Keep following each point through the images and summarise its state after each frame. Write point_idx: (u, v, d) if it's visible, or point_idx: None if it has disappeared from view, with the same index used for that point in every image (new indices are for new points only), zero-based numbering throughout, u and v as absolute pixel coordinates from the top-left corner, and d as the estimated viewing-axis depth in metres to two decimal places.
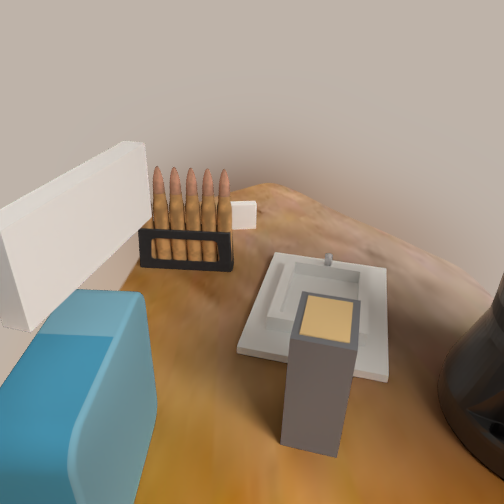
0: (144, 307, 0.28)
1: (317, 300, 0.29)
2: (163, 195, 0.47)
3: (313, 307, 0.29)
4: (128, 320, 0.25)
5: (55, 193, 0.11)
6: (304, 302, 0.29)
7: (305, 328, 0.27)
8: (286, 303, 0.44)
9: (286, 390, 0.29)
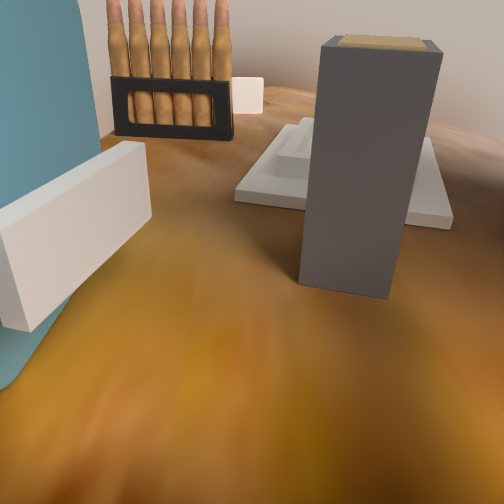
0: (79, 20, 0.18)
1: (361, 35, 0.18)
2: (142, 27, 0.36)
3: (356, 37, 0.18)
4: None
5: (55, 193, 0.11)
6: (340, 38, 0.18)
7: (347, 41, 0.16)
8: None
9: (311, 169, 0.17)
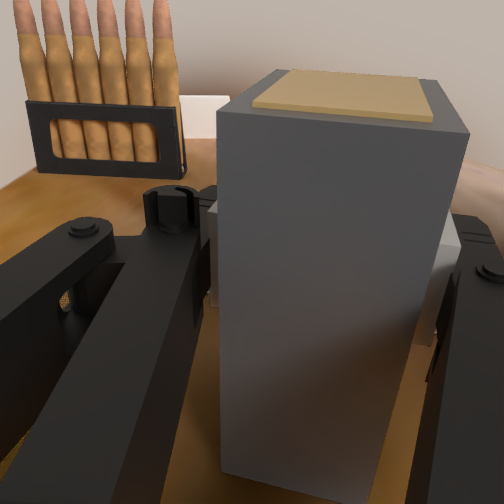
0: None
1: (317, 73, 0.11)
2: (61, 38, 0.28)
3: (304, 78, 0.10)
4: None
5: None
6: (279, 78, 0.10)
7: (274, 97, 0.08)
8: None
9: (222, 319, 0.10)
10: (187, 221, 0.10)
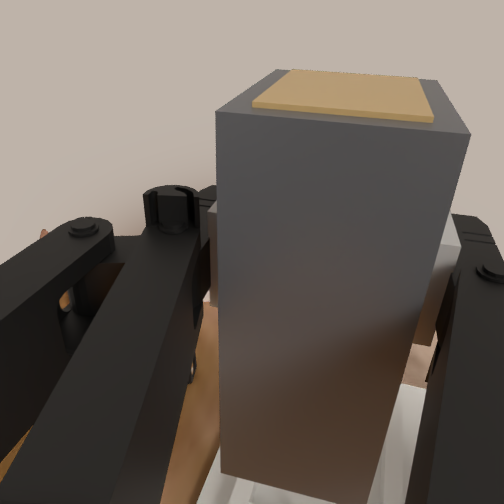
0: None
1: (317, 73, 0.11)
2: None
3: (304, 78, 0.10)
4: None
5: None
6: (279, 77, 0.10)
7: (274, 97, 0.08)
8: None
9: (222, 320, 0.10)
10: (187, 221, 0.10)
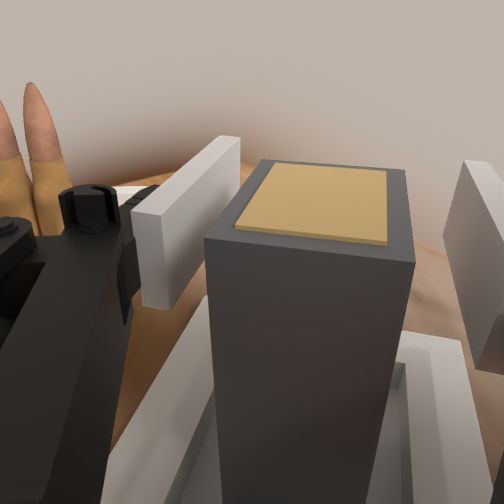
0: None
1: (296, 168, 0.12)
2: None
3: (284, 179, 0.11)
4: None
5: (188, 182, 0.12)
6: (263, 175, 0.12)
7: (254, 215, 0.09)
8: (196, 470, 0.15)
9: (218, 396, 0.11)
10: (107, 219, 0.10)
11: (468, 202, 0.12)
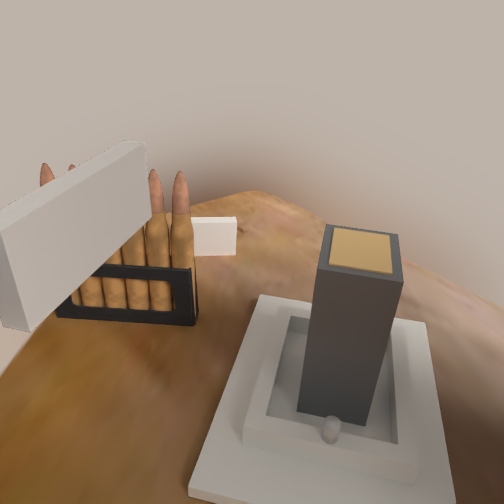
0: None
1: (346, 232, 0.24)
2: None
3: (342, 239, 0.24)
4: None
5: (55, 193, 0.11)
6: (330, 235, 0.24)
7: (335, 259, 0.22)
8: (276, 389, 0.27)
9: (308, 340, 0.23)
10: None
11: None
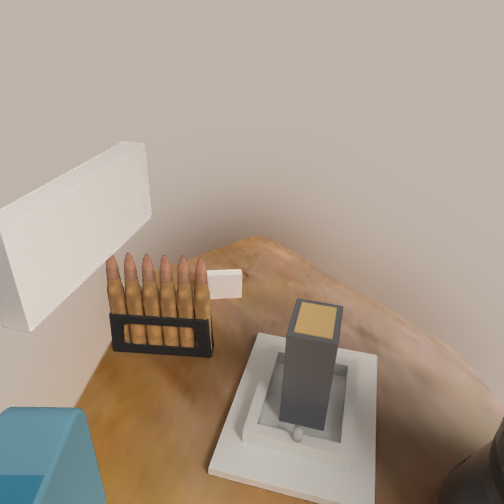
0: (84, 420, 0.28)
1: (309, 305, 0.37)
2: (135, 281, 0.43)
3: (305, 311, 0.37)
4: (62, 449, 0.24)
5: (55, 193, 0.11)
6: (298, 307, 0.37)
7: (298, 327, 0.35)
8: (266, 405, 0.41)
9: (283, 376, 0.36)
10: None
11: None
